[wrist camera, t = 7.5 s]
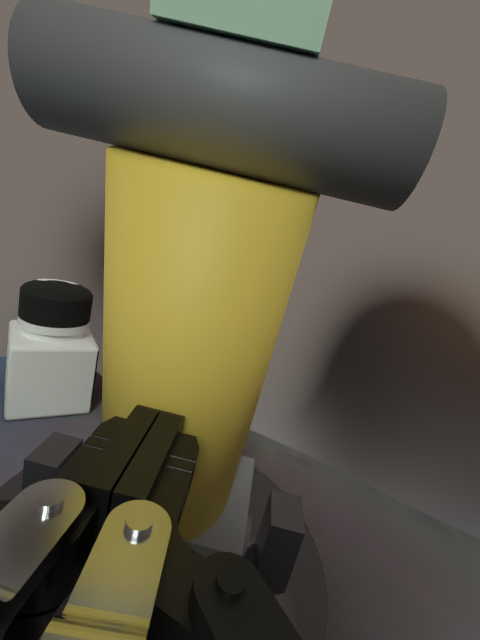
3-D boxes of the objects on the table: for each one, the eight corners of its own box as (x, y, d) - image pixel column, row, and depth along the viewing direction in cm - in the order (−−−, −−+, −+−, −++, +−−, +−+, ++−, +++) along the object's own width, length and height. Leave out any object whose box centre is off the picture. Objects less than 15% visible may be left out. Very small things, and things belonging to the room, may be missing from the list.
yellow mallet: (258, 496, 21) (420, 58, 11) (246, 616, 16) (538, -15, 5) (98, 453, 21) (102, -14, 11) (33, 557, 16) (-76, -148, 6)
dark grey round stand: (292, 516, 28) (321, 428, 26) (325, 976, 11) (421, 818, 9) (76, 459, 29) (88, 368, 27) (-228, 807, 11) (-260, 622, 9)
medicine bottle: (90, 414, 35) (107, 298, 32) (3, 422, 31) (13, 290, 28) (79, 380, 40) (92, 279, 37) (4, 383, 36) (12, 270, 33)
